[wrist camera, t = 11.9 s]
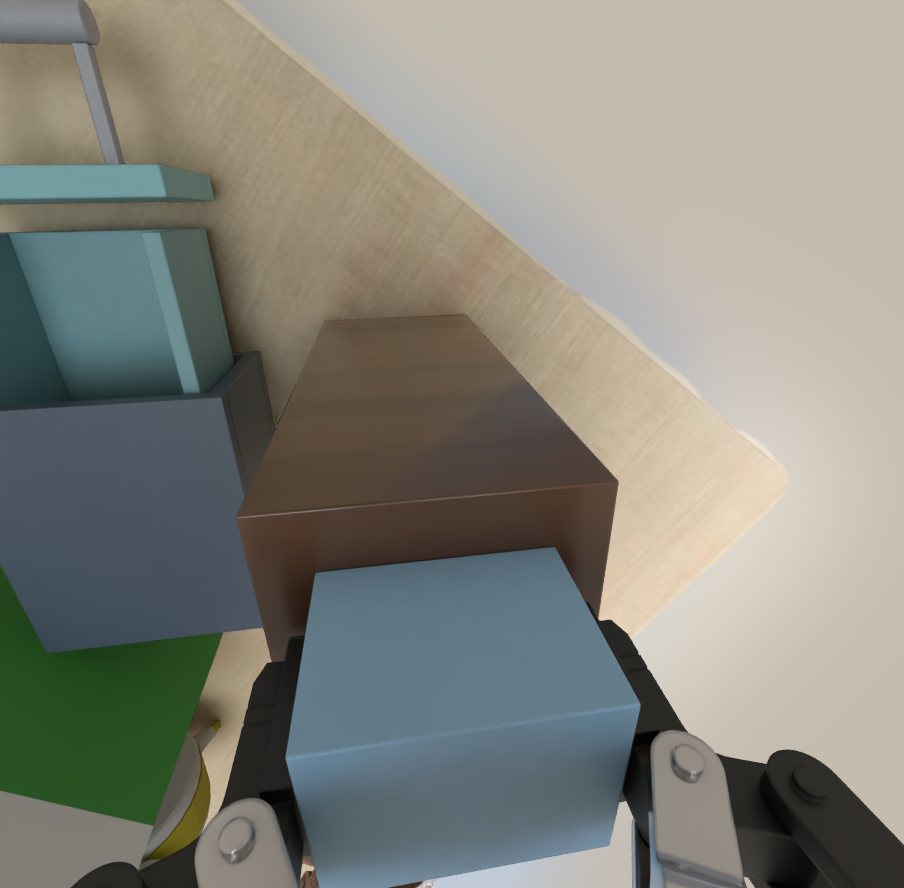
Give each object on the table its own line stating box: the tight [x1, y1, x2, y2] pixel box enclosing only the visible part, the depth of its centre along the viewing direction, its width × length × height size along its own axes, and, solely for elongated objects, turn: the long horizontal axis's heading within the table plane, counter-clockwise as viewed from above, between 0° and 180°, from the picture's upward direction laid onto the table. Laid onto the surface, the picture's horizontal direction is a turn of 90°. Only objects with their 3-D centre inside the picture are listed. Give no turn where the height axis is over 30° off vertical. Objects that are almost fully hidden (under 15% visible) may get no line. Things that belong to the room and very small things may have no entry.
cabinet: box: [0, 351, 275, 653], centre depth 29 cm, size 15×13×9 cm
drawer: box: [0, 0, 235, 406], centre depth 24 cm, size 19×11×7 cm, turn 1°
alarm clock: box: [138, 720, 221, 871], centre depth 36 cm, size 12×7×15 cm, turn 88°
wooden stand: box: [236, 315, 618, 662], centre depth 23 cm, size 8×9×22 cm
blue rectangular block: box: [285, 547, 641, 888], centre depth 11 cm, size 6×4×4 cm
